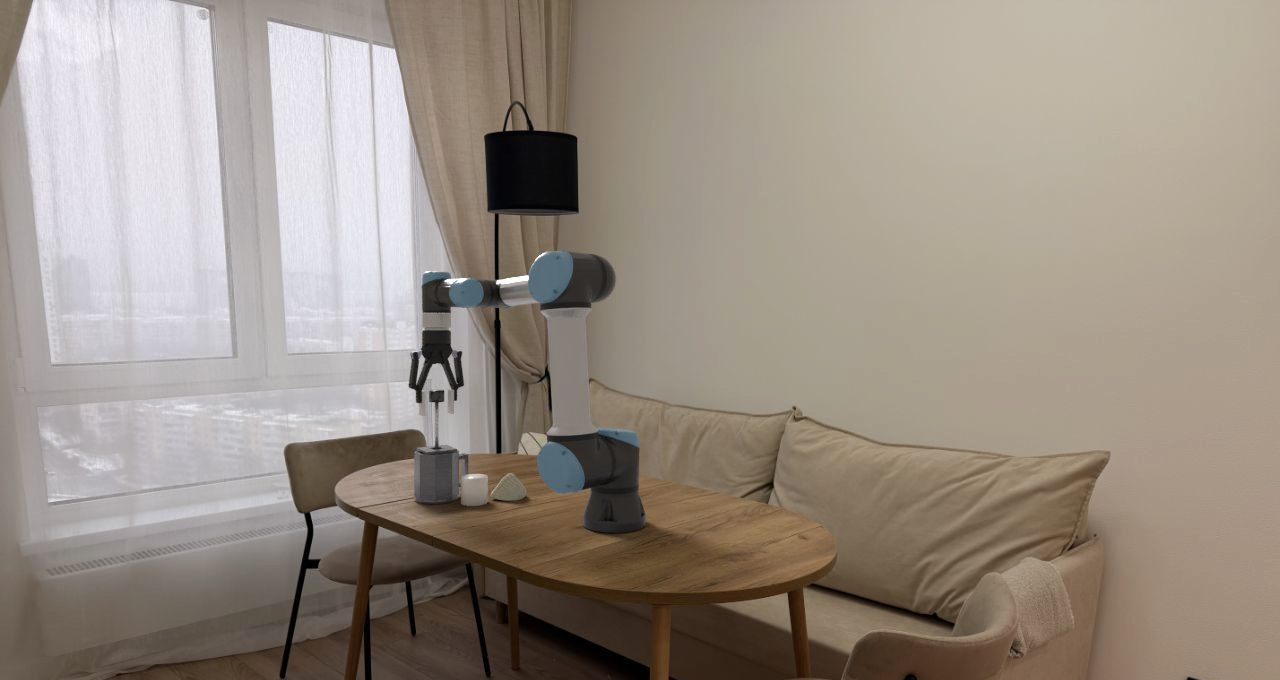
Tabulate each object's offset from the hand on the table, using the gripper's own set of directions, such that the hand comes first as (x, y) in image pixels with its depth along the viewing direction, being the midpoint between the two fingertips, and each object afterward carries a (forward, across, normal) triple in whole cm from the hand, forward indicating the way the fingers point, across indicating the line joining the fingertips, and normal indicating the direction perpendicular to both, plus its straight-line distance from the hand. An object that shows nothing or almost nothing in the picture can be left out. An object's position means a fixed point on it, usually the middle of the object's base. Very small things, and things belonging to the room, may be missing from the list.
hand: (436, 414), depth 207 cm
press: (+23, -1, 0) cm, 23 cm away
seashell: (+23, -17, +9) cm, 30 cm away
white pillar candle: (+23, -7, +9) cm, 26 cm away
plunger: (+13, 0, 0) cm, 13 cm away
